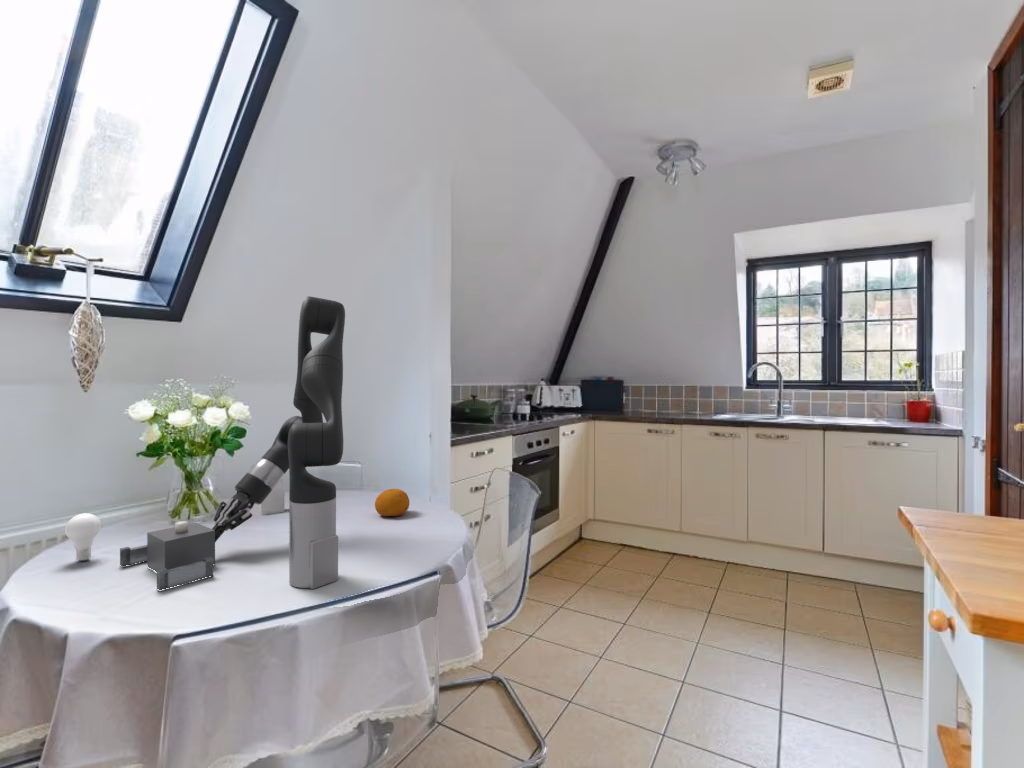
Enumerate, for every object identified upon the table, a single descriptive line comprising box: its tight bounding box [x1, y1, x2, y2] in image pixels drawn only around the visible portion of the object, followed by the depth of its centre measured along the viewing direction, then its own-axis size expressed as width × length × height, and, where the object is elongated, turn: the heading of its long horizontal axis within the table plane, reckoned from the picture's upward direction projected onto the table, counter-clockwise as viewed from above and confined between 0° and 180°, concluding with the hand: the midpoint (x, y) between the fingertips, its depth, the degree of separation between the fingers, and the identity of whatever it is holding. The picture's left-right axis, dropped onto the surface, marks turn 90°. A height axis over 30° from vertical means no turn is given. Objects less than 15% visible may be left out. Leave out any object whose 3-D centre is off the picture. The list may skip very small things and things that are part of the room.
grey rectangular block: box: [258, 478, 285, 516], centre depth 163 cm, size 4×7×10 cm, turn 127°
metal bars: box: [119, 544, 214, 590], centre depth 113 cm, size 23×10×4 cm, turn 53°
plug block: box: [146, 520, 216, 572], centre depth 116 cm, size 10×10×10 cm
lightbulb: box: [64, 512, 102, 563], centre depth 119 cm, size 6×6×11 cm
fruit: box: [374, 488, 410, 517], centre depth 160 cm, size 10×10×8 cm
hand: (208, 541), depth 120 cm, fingers closed
